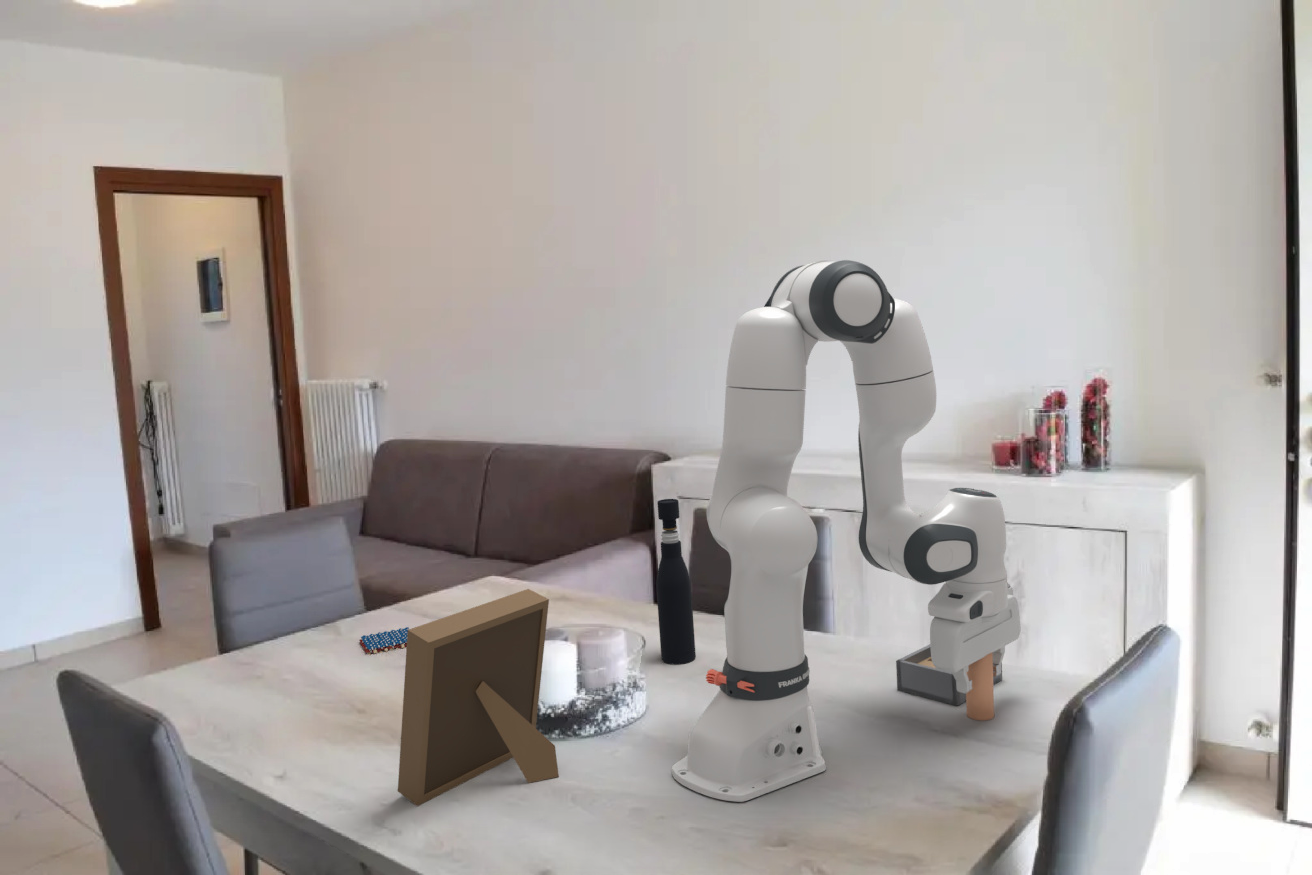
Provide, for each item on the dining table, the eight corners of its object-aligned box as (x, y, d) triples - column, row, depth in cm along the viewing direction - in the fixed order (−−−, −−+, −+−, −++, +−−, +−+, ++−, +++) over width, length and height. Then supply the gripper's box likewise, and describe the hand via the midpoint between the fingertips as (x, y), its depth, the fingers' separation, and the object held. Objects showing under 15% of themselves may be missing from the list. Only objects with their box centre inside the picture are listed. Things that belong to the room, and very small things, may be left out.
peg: (985, 722, 150) (983, 658, 149) (961, 716, 153) (959, 652, 152) (999, 714, 153) (997, 650, 152) (975, 707, 156) (973, 645, 154)
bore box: (957, 705, 157) (956, 675, 156) (897, 689, 165) (896, 660, 164) (1002, 679, 166) (1001, 650, 166) (943, 665, 174) (942, 638, 174)
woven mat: (358, 644, 211) (357, 635, 211) (409, 634, 215) (408, 625, 215) (366, 658, 202) (365, 648, 201) (419, 647, 206) (418, 638, 206)
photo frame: (398, 797, 139) (382, 623, 135) (514, 740, 155) (502, 583, 152) (468, 828, 129) (452, 641, 126) (584, 764, 146) (573, 597, 143)
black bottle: (682, 666, 183) (671, 505, 179) (654, 661, 187) (643, 502, 183) (702, 655, 188) (692, 498, 184) (674, 650, 192) (664, 496, 188)
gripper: (992, 575, 160) (994, 659, 162) (921, 607, 146) (924, 698, 148) (1030, 581, 155) (1032, 667, 157) (959, 614, 142) (962, 708, 143)
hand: (979, 682), depth 152 cm, fingers open, 7 cm apart
